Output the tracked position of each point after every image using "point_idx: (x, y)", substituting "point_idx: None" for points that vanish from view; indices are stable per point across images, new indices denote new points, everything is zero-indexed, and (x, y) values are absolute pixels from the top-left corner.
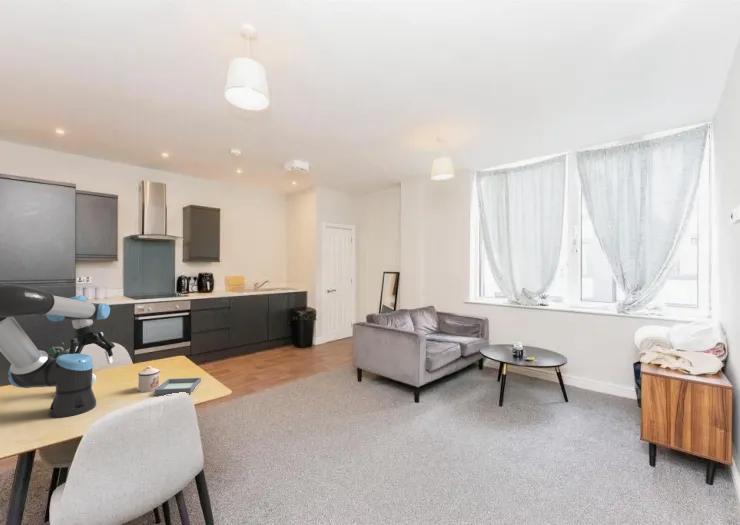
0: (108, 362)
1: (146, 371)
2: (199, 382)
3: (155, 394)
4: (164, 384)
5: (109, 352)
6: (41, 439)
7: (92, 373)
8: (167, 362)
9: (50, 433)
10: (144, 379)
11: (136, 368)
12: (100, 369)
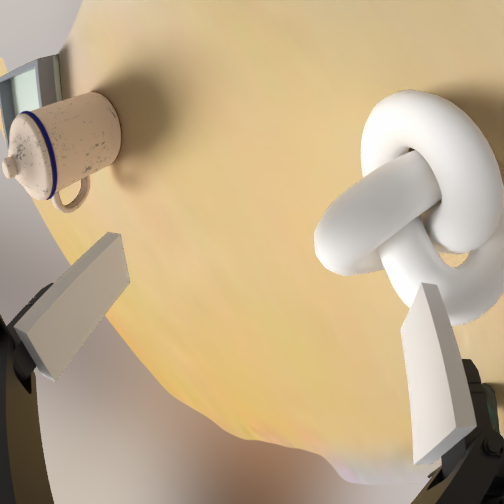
0: (107, 241)
1: (15, 135)
2: None
3: (52, 56)
4: None
5: (23, 314)
6: None
7: (324, 255)
8: (209, 410)
9: None
10: (43, 107)
11: (277, 413)
12: (398, 454)
